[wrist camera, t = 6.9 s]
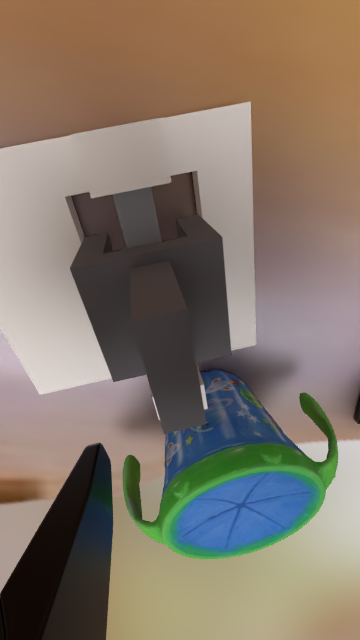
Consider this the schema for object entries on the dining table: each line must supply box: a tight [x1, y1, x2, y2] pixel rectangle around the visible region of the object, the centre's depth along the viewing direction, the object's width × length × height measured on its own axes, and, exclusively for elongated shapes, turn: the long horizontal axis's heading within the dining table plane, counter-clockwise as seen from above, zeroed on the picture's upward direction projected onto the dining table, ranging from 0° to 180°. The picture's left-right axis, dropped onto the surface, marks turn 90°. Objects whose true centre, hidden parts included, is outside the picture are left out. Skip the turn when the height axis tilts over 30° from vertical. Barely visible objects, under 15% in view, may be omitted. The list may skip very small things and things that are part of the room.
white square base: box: [0, 102, 256, 420], centre depth 16 cm, size 15×16×6 cm
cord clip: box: [70, 215, 232, 434], centre depth 13 cm, size 6×6×8 cm
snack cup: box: [123, 369, 338, 559], centre depth 22 cm, size 16×10×10 cm
